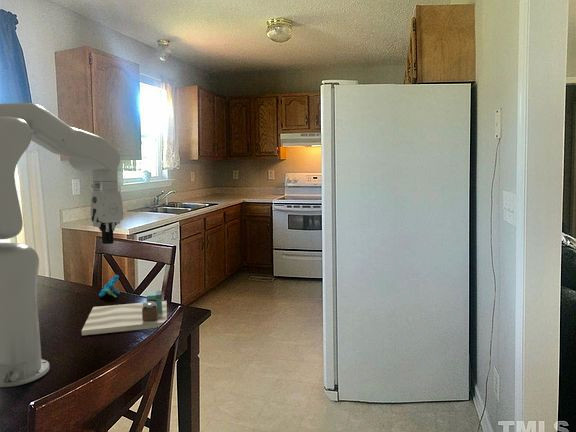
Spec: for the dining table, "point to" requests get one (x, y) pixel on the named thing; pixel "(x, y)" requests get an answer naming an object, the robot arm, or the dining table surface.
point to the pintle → (149, 304)
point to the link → (149, 312)
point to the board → (121, 319)
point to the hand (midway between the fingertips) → (107, 243)
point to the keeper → (158, 297)
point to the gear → (110, 287)
